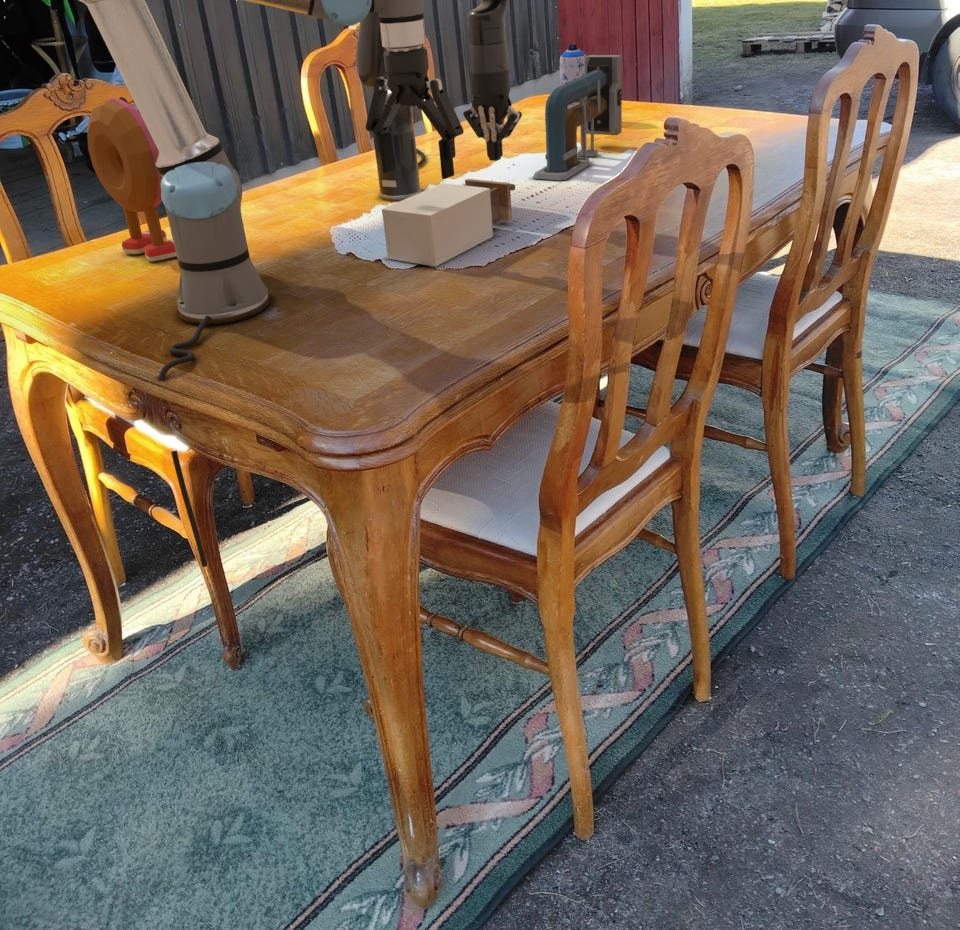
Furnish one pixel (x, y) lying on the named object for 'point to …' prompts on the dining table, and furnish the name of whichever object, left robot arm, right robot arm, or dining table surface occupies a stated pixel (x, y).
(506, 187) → the drawer
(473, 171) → the dining table surface
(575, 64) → the aerosol can
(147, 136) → the toy
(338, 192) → the dining table surface
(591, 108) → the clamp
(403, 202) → the beige cardboard box
